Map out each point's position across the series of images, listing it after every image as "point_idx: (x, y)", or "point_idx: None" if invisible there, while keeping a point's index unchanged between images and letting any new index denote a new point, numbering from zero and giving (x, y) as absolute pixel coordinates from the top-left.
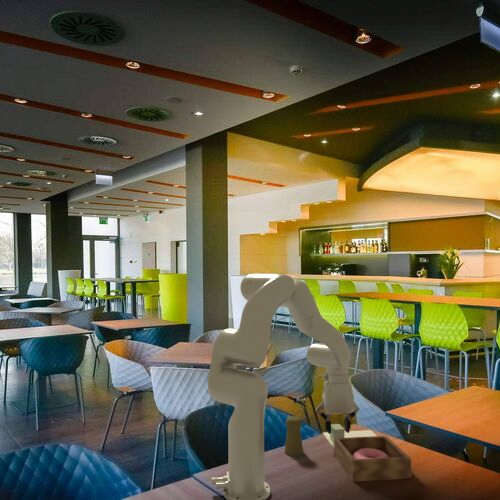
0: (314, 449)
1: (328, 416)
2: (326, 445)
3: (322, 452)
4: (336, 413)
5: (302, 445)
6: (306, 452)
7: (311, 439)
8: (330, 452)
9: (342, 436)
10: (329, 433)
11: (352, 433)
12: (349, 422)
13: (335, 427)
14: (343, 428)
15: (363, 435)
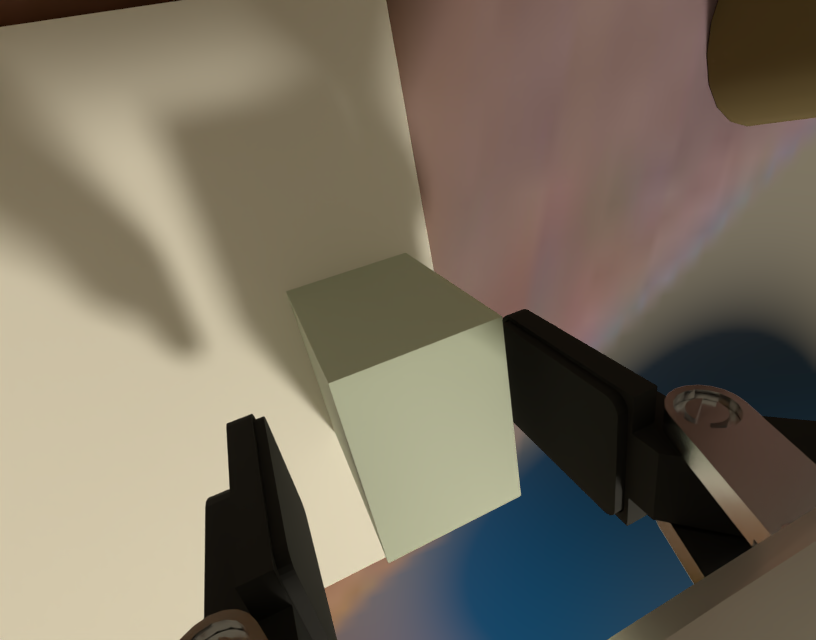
0: (604, 117)
1: (770, 460)
2: (480, 244)
3: (549, 29)
4: (766, 558)
5: (797, 2)
6: (687, 25)
7: None
8: (466, 32)
9: (333, 319)
10: (517, 312)
11: (194, 602)
12: (228, 586)
13: (467, 415)
14: (341, 414)
15: (45, 608)
